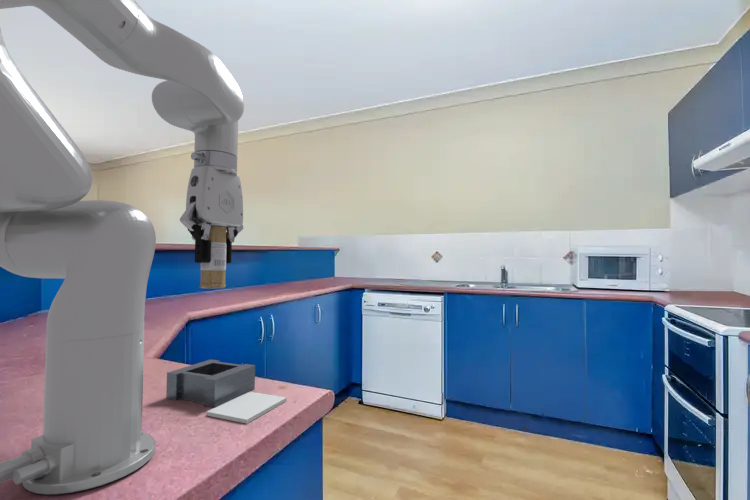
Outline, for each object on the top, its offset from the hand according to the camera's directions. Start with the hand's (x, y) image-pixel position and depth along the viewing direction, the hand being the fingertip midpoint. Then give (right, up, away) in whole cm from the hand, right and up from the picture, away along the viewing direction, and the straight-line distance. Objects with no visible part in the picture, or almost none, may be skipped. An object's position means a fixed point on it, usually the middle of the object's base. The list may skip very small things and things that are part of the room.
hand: (213, 261), depth 70 cm
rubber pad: (+9, -24, -7) cm, 27 cm away
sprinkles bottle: (0, -5, 0) cm, 5 cm away
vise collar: (0, -24, 0) cm, 24 cm away
